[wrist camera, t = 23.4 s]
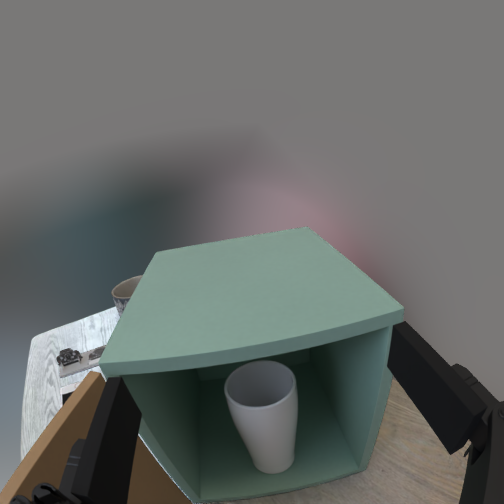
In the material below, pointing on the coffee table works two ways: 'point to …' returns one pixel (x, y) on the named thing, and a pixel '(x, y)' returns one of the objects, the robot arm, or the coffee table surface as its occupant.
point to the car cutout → (78, 360)
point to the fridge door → (77, 426)
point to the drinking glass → (265, 412)
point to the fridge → (255, 358)
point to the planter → (124, 293)
